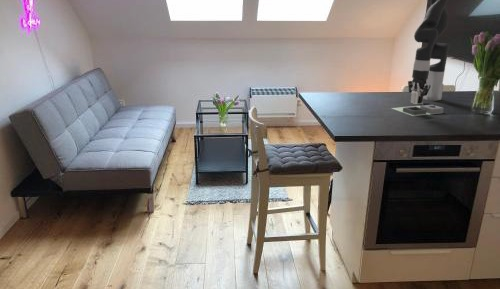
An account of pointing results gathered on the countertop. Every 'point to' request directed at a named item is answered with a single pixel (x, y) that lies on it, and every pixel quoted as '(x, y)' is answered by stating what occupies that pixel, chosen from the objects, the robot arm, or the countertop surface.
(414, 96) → the plug
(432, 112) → the circuit board
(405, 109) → the header socket
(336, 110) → the countertop surface
